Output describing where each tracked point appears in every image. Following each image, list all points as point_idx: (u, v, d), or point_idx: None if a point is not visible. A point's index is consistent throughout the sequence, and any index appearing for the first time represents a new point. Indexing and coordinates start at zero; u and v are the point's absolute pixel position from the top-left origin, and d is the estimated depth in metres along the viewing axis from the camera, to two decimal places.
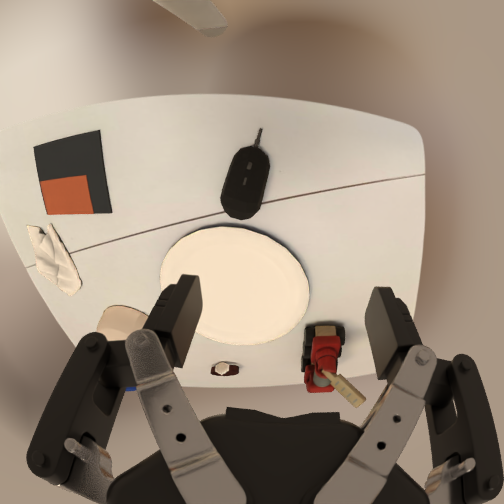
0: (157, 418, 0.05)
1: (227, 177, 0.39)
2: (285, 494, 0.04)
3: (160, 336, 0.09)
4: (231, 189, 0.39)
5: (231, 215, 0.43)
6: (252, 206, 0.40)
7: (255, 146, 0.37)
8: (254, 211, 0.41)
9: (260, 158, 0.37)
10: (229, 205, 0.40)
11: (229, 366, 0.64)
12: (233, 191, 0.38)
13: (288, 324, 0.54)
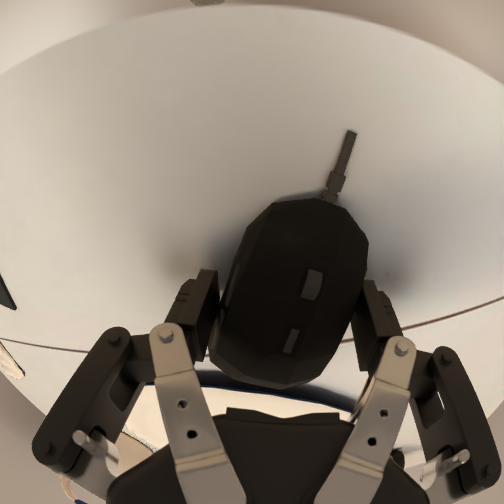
0: (171, 412, 0.06)
1: (225, 308, 0.11)
2: (285, 494, 0.04)
3: (183, 330, 0.09)
4: (240, 353, 0.11)
5: None
6: (302, 381, 0.13)
7: (329, 199, 0.10)
8: (303, 383, 0.13)
9: (349, 249, 0.10)
10: (235, 377, 0.13)
11: None
12: (247, 360, 0.11)
13: None
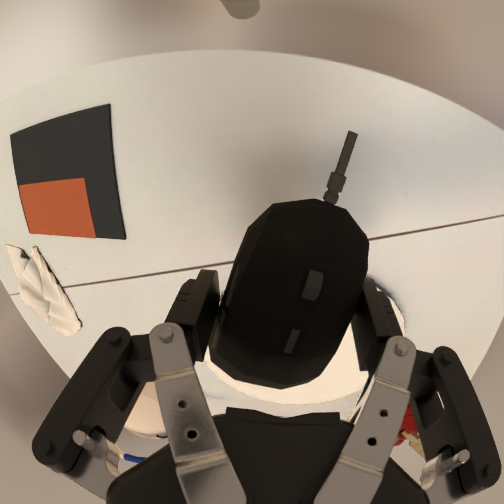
0: (171, 412, 0.06)
1: (226, 308, 0.11)
2: (285, 494, 0.04)
3: (183, 330, 0.09)
4: (241, 353, 0.11)
5: None
6: (302, 382, 0.13)
7: (330, 200, 0.10)
8: (304, 383, 0.13)
9: (349, 249, 0.10)
10: (235, 377, 0.13)
11: None
12: (247, 360, 0.11)
13: None
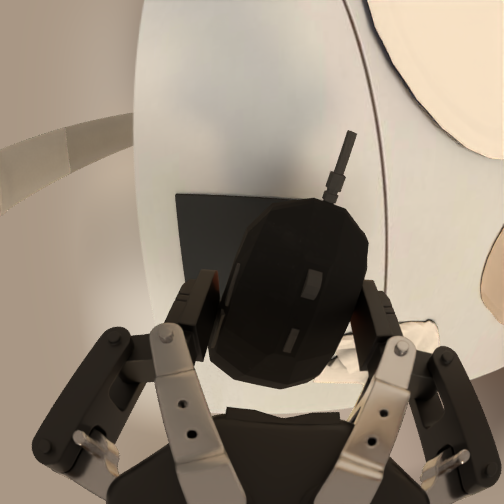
0: (171, 412, 0.06)
1: (225, 307, 0.11)
2: (285, 494, 0.04)
3: (183, 330, 0.09)
4: (240, 353, 0.11)
5: None
6: (302, 381, 0.13)
7: (329, 199, 0.10)
8: (303, 382, 0.14)
9: (348, 248, 0.10)
10: (235, 376, 0.13)
11: None
12: (247, 359, 0.11)
13: None
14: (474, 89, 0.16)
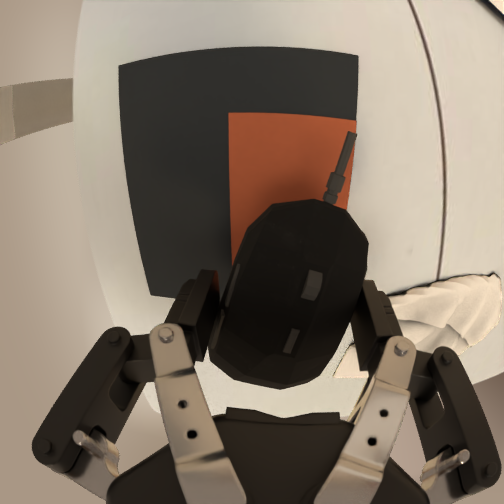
0: (171, 412, 0.06)
1: (226, 308, 0.11)
2: (285, 494, 0.04)
3: (183, 330, 0.09)
4: (240, 353, 0.11)
5: None
6: (302, 382, 0.13)
7: (329, 200, 0.10)
8: (303, 383, 0.14)
9: (348, 249, 0.10)
10: (235, 377, 0.13)
11: None
12: (247, 360, 0.11)
13: None
14: None
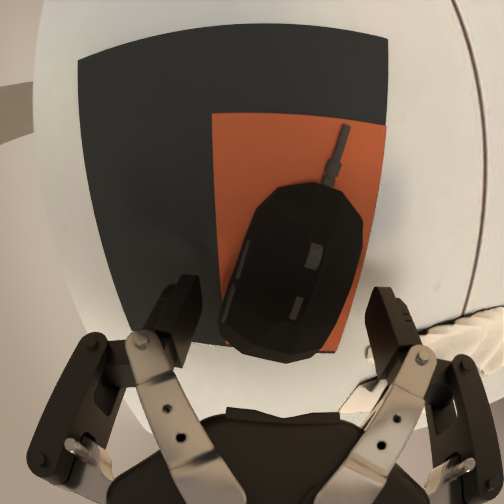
0: (157, 418, 0.05)
1: (236, 281, 0.13)
2: (285, 494, 0.04)
3: (160, 336, 0.09)
4: (249, 323, 0.13)
5: None
6: (306, 354, 0.14)
7: (328, 183, 0.11)
8: (307, 357, 0.15)
9: (345, 226, 0.11)
10: (243, 349, 0.14)
11: None
12: (256, 329, 0.12)
13: None
14: None
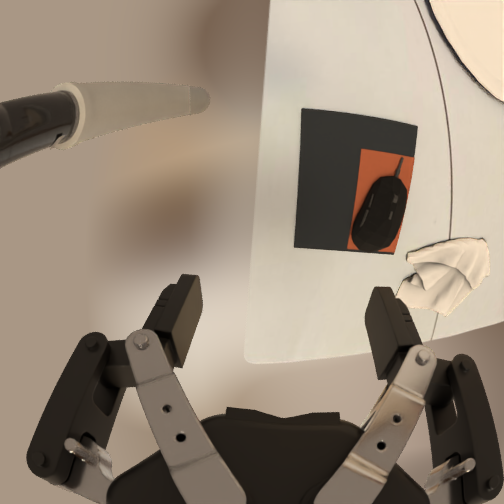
0: (157, 418, 0.05)
1: (368, 208, 0.33)
2: (285, 494, 0.04)
3: (160, 336, 0.09)
4: (374, 223, 0.33)
5: (361, 248, 0.37)
6: (389, 241, 0.34)
7: (396, 176, 0.32)
8: (388, 245, 0.35)
9: (402, 190, 0.32)
10: (367, 238, 0.34)
11: None
12: (376, 225, 0.33)
13: None
14: (494, 59, 0.18)
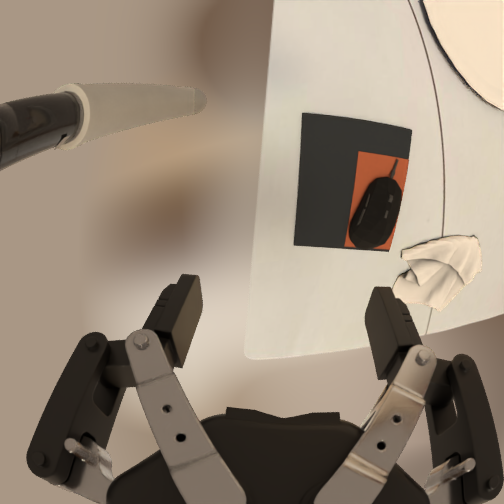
0: (157, 418, 0.05)
1: (365, 207, 0.35)
2: (285, 494, 0.04)
3: (160, 336, 0.09)
4: (370, 221, 0.35)
5: (358, 245, 0.39)
6: (385, 238, 0.36)
7: (391, 177, 0.34)
8: (384, 243, 0.37)
9: (397, 190, 0.34)
10: (364, 236, 0.36)
11: None
12: (372, 223, 0.35)
13: None
14: (487, 65, 0.21)
